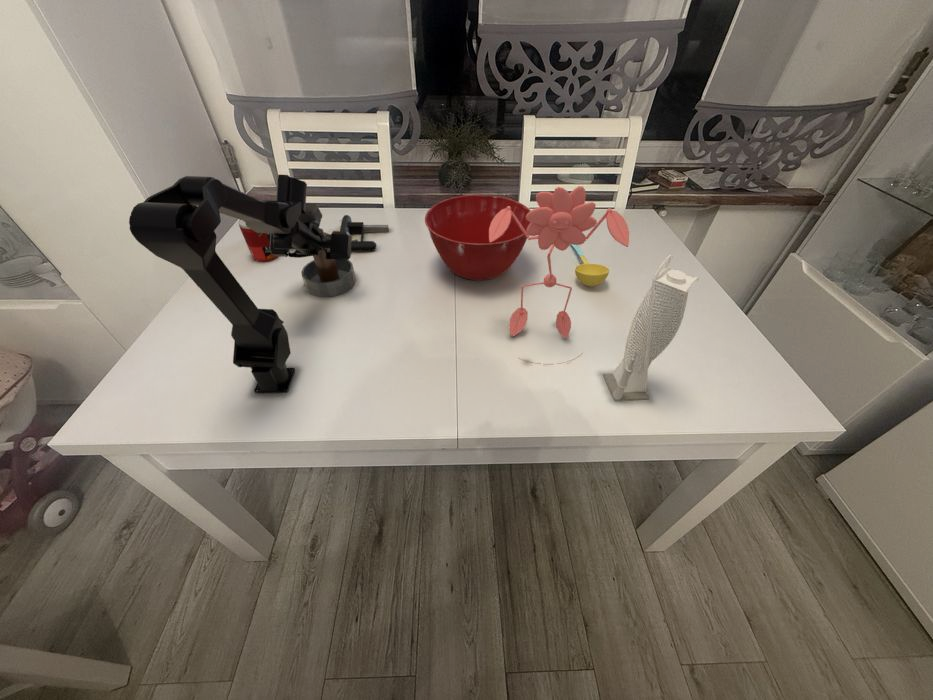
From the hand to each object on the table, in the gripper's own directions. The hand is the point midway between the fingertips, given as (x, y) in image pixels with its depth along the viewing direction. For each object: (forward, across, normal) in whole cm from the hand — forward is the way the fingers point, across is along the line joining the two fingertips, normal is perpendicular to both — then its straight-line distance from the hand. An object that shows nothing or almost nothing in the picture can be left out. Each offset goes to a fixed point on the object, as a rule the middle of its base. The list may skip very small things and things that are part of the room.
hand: (325, 253), depth 100 cm
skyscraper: (-16, -72, +28) cm, 79 cm away
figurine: (-8, -55, +20) cm, 59 cm away
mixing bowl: (+13, -39, -2) cm, 41 cm away
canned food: (+14, +24, -2) cm, 27 cm away
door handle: (+23, -2, -12) cm, 26 cm away
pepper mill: (+4, 0, +6) cm, 7 cm away
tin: (+5, 0, +7) cm, 8 cm away
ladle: (+16, -69, -4) cm, 71 cm away
